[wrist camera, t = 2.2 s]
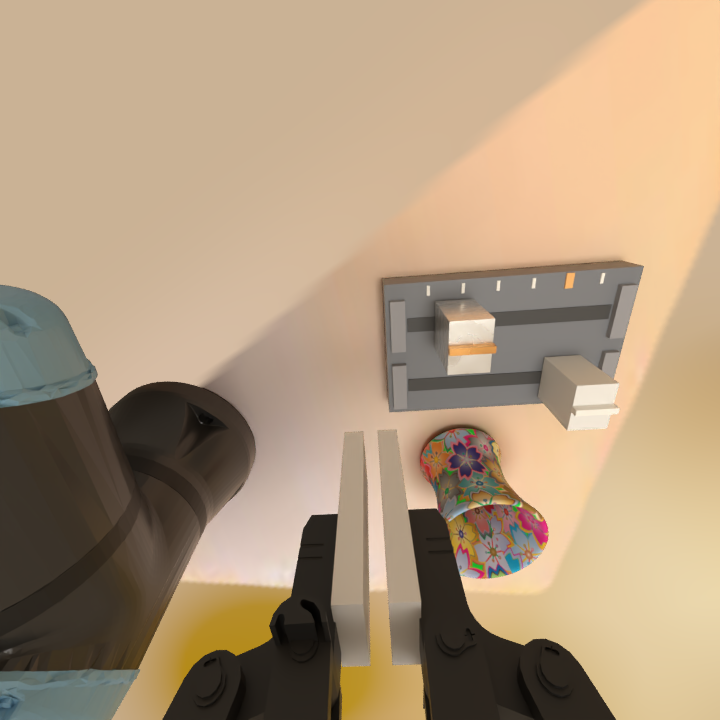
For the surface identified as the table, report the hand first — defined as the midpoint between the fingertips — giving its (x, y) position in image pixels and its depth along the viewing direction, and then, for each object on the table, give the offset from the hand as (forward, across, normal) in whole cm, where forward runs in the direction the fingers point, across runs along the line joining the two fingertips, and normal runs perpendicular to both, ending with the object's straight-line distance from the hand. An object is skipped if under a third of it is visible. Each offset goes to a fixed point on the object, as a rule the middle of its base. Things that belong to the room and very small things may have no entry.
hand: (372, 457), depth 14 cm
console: (+18, +12, -2) cm, 22 cm away
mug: (+19, +10, -18) cm, 27 cm away
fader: (+16, +7, 0) cm, 17 cm away
